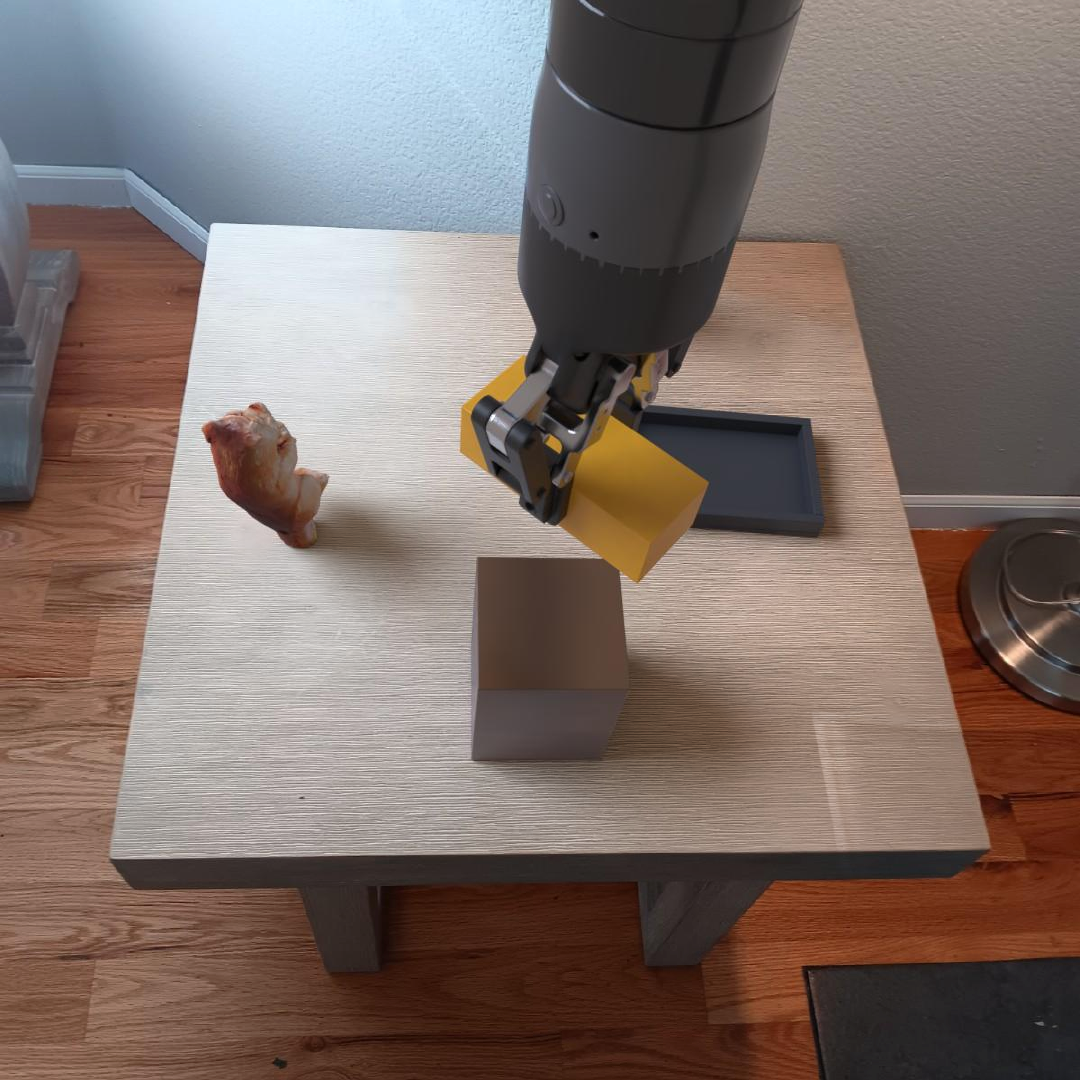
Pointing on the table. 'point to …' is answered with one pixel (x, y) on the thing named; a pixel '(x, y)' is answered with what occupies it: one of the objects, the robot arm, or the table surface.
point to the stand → (546, 658)
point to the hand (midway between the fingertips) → (577, 477)
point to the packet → (612, 488)
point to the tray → (744, 467)
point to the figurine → (266, 473)
